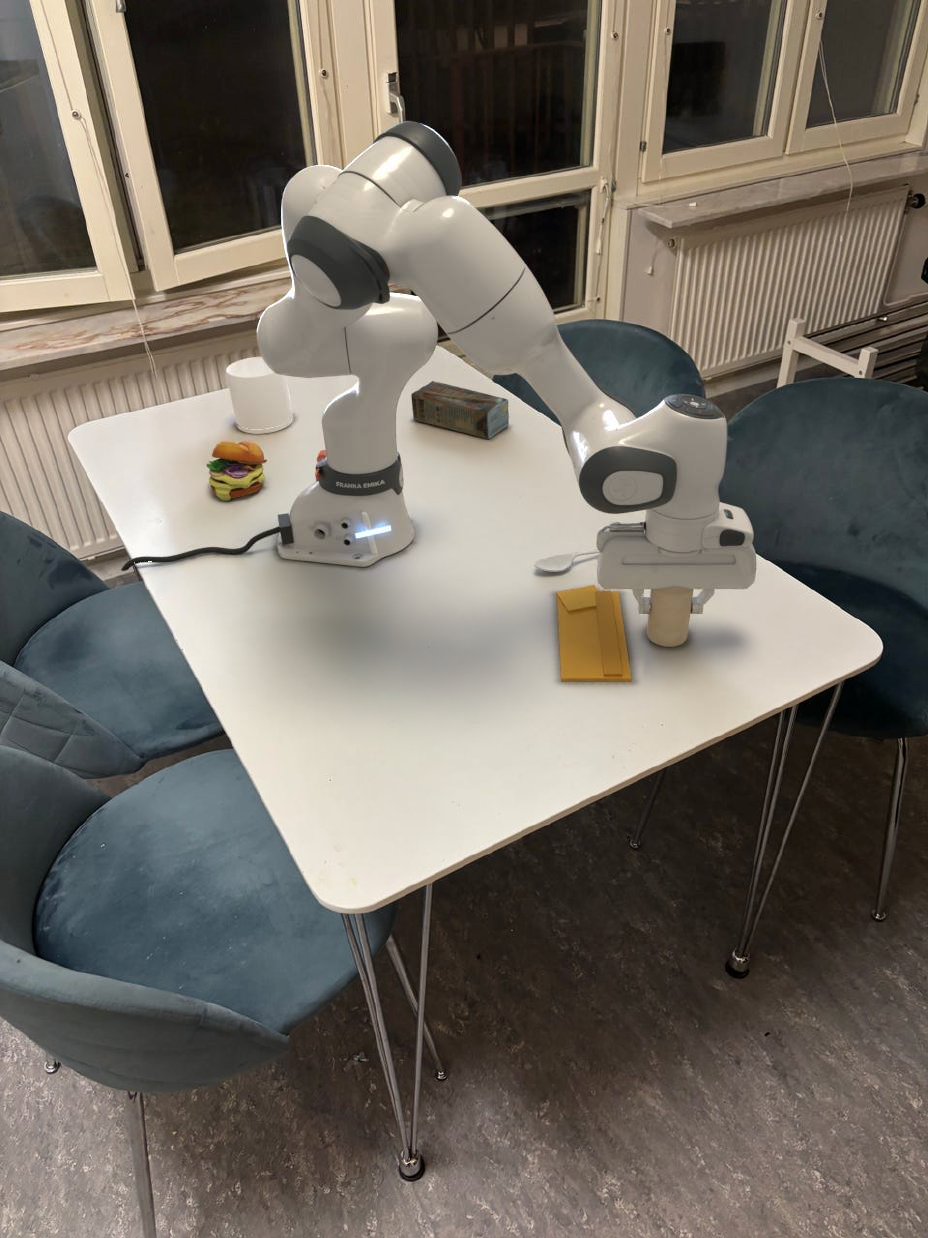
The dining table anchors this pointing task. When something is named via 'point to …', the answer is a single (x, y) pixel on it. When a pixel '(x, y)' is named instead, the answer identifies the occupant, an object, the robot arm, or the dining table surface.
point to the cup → (258, 396)
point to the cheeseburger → (236, 469)
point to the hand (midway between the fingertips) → (670, 611)
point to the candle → (669, 615)
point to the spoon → (560, 561)
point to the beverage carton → (460, 409)
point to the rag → (592, 636)
